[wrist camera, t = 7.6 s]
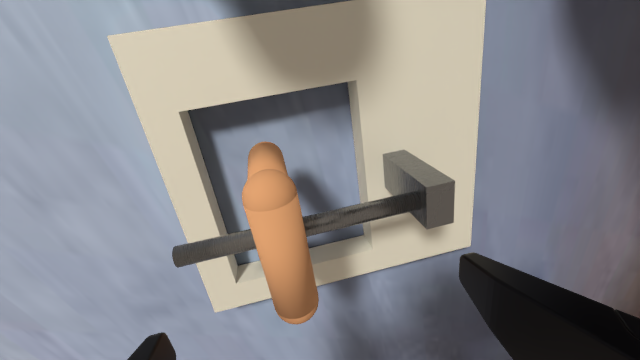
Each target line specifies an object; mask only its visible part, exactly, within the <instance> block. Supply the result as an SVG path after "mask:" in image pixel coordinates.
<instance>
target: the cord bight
mask: <svg viewBox="0 0 640 360" xmlns="http://www.w3.org/2000/svg"><path fill="white" fill-rule="evenodd" d="M242 201H243V206H244V209H245V212H246V215H247V219H248V222H249V225H250V228H251V232H252V235H253V238H254V242H255V245H256V248H257V251H258V255H259V258H260V261H261V264H262V268H263V271H264V274H265V277H266V281H267V284H268V287H269V290H270V294H271V297H272V300H273V304H274V307H275V310H276V312H277V314H278V315H279V316H280V318H281V319H282V320H284V321H285V322H288V323H290V324H301V323H304V322H306V321H308V320H309V319H310V318H311V317H312V316H313V315H314V313H315V312H316V310H317V307H318V301H319V299H318V292H317V287H316V282H315V277H314V272H313V267H312V262H311V257H310V253H309V248H308V243H307V238H306V233H305V228H304V223H303V218H302V213H301V208H300V204H299V199H298V194H297V189H296V186H295V184H294V182H293V181H292V179H291V178H290V177H289V176H288V174H287V170H286V166H285V162H284V158H283V155H282V152H281V150H280V149H279V147H278V146H276V145H275V144H273V143H270V142H260V143H258V144H256V145H255V146H253V147H252V149H251V150H250V152H249V156H248V180H247V182H246V184H245V185H244V188H243V192H242Z"/></svg>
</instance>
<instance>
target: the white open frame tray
mask: <svg viewBox="0 0 640 360" xmlns="http://www.w3.org/2000/svg"><path fill="white" fill-rule="evenodd" d="M485 7H486V0H351V1H345V2H338V3H331V4H324V5H317V6H310V7H303V8H296V9H289V10H283V11H276V12H269V13H262V14H255V15H248V16H241V17H234V18H227V19H220V20H214V21H207V22H200V23H193V24H186V25H179V26H172V27H165V28H158V29H152V30H145V31H138V32H131V33H124V34H117V35H110V36H107V37H108V39H109V42H110V44H111V47H112V50H113V52H114V55H115V57H116V60H117V62H118V65H119V68H120V70H121V73H122V75H123V78H124V80H125V83H126V85H127V88H128V91H129V93H130V96H131V98H132V101H133V103H134V106H135V108H136V111H137V114H138V116H139V119H140V121H141V124H142V126H143V129H144V132H145V134H146V137H147V139H148V142H149V144H150V147H151V149H152V152H153V155H154V157H155V160H156V162H157V165H158V167H159V170H160V172H161V175H162V178H163V180H164V183H165V185H166V188H167V190H168V193H169V195H170V198H171V201H172V203H173V206H174V208H175V211H176V213H177V216H178V219H179V221H180V224H181V226H182V229H183V231H184V234H185V236H186V239H187V242H188V243H192V242H196V241H201V240H205V239H209V238H214V237H218V236H222V235H227V231H226V228H225V225H224V222H223V219H222V216H221V212H220V209H219V206H218V203H217V200H216V197H215V194H214V191H213V188H212V185H211V181H210V178H209V175H208V172H207V169H206V166H205V163H204V160H203V157H202V154H201V150H200V147H199V144H198V141H197V138H196V135H195V132H194V129H193V126H192V123H191V119H190V116H189V113H188V110H192V109H198V108H203V107H209V106H215V105H220V104H226V103H231V102H237V101H243V100H248V99H254V98H259V97H265V96H271V95H276V94H282V93H287V92H293V91H299V90H304V89H310V88H315V87H321V86H327V85H332V84H338V83H343V82H348V91H349V100H350V110H351V119H352V128H353V138H354V147H355V156H356V166H357V175H358V184H359V194H360V203H365V202H370V201H374V200H378V199H383V198H387V197H391V196H393V195H392V194H391V193H390V192H389V191H388V190H387V189H386V188H385V182H384V168H383V154H385V153H390V152H395V151H399V150H406V151H408V152H409V153H411V154H413V155H414V156H416V157H417V158H419V159H421V160H422V161H424V162H425V163H427V164H429V165H430V166H432V167H434V168H435V169H437V170H438V171H440V172H442V173H443V174H445V175H447V176H448V177H450V178H451V179H453V180H455V199H454V223H451V224H447V225H443V226H439V227H435V228H431V229H426V228H425V227H424V226H423V225H422V224H421V223H420V222H419V221H418V220H417V219H416V218H415V217H414V216H413V215H412V214H411V213H410V212H408V213H404V214H400V215H395V216H391V217H387V218H383V219H379V220H374V221H370V222H366V223H363V231H364V235H362V236H358V237H354V238H350V239H346V240H342V241H338V242H333V243H329V244H325V245H321V246H317V247H313V248H309V253H310V257H311V262H312V267H313V272H314V277H315V282H316V286H319V285H323V284H327V283H331V282H334V281H338V280H342V279H346V278H350V277H354V276H357V275H361V274H365V273H369V272H373V271H377V270H381V269H384V268H388V267H392V266H396V265H400V264H404V263H407V262H411V261H415V260H419V259H423V258H427V257H430V256H434V255H438V254H442V253H446V252H450V251H453V250H457V249H461V248H465V247H469V246H471V230H472V214H473V198H474V182H475V166H476V151H477V135H478V119H479V103H480V87H481V71H482V55H483V39H484V23H485ZM196 265H197V267H198V270H199V272H200V275H201V277H202V280H203V282H204V285H205V288H206V290H207V293H208V295H209V298H210V300H211V303H212V306H213V308H214V311H215V313H216V312H219V311H223V310H227V309H231V308H235V307H239V306H242V305H246V304H250V303H254V302H258V301H262V300H265V299H269V298H272V297H271V294H270V290H269V287H268V284H267V281H266V277H265V274H264V271H263V268H262V264H261V261H256V262H252V263H247V264H243V265H239V266H238V265H237V262H236V259H235V256H234V254H232V255H228V256H224V257H220V258H216V259H211V260H207V261H203V262H199V263H196Z"/></svg>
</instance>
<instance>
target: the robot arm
mask: <svg viewBox="0 0 640 360" xmlns="http://www.w3.org/2000/svg"><path fill="white" fill-rule="evenodd" d="M459 278H460V281H461V283H462V285H463V287H464V288H465V290H466V292H467V293H468V295H469V296H470V298H471V300H472V301H473V303H474V304H475V306H476V308H477V309H478V311H479V312H480V314H481V316H482V317H483V319H484V321H485V322H486V324H487V325H488V327H489V328H490V329H491V331H492V332H493V334H494V335H495V336H496V338H497V339H498V340H499V342H500V343H501V344H502V345H503V347H504V348H505V349H506V351H507V352H508V353H509V355H510V356H511V357H512V359H513V360H640V319H639V318H637V317H634V316H632V315H629V314H627V313H624V312H622V311H619V310H614V309H613V308H612V307H609V306H607V305H604V304H602V303H599V302H597V301H594V300H592V299H589V298H587V297H584V296H582V295H579V294H577V293H574V292H572V291H569V290H567V289H564V288H562V287H559V286H557V285H554V284H552V283H549V282H547V281H544V280H542V279H539V278H537V277H534V276H532V275H529V274H527V273H524V272H522V271H519V270H517V269H514V268H512V267H509V266H507V265H504V264H502V263H499V262H497V261H494V260H492V259H489V258H487V257H484V256H482V255H479V254H477V253H468V254H464V255H462V256H461V257H460V264H459ZM127 360H176V353H175V350H174V348H173V346H172V344H171V342H170V340H169V338H168V336H167V335H166V334H165V333H158V334H154V335H151V336H149V337H147V338H146V339H145V340H144V341H143V343H142V344H141V345H140V346H139V347H138V348H137V349H136V350H135V352H134V353H133V354H132V355H131V356H130V357H129V358H128V359H127Z"/></svg>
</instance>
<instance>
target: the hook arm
mask: <svg viewBox="0 0 640 360" xmlns="http://www.w3.org/2000/svg"><path fill="white" fill-rule="evenodd" d="M383 168H384V182H385V188H386V189H387V190H388V191H389V192H390V193H391V194H392V195H393V196H391V197H387V198H383V199H378V200H374V201H370V202H365V203H361V204H357V205H352V206H348V207H344V208H339V209H335V210H331V211H326V212H322V213H318V214H313V215H309V216H305V217H302V218H303V223H304V228H305V233H306V237H308V236H312V235H316V234H320V233H324V232H328V231H333V230H337V229H341V228H345V227H349V226H354V225H358V224H362V223H366V222H370V221H374V220H379V219H383V218H387V217H391V216H395V215H400V214H404V213H408V212H410V213H411V214H412V215H413V216H414V217H415V218H416V219H417V220H418V221H419V222H420V223H421V224H422V225H423V226H424V227H425V228H426V229H431V228H435V227H439V226H443V225H447V224H451V223H454V199H455V180H453V179H451V178H450V177H448V176H447V175H445V174H443V173H442V172H440V171H438V170H437V169H435V168H434V167H432V166H430V165H429V164H427V163H425V162H424V161H422V160H421V159H419V158H417V157H416V156H414V155H413V154H411V153H409V152H408V151H406V150H399V151H395V152H390V153H385V154H383ZM253 249H257V248H256V245H255V242H254V238H253V235H252V232H251V229H248V230H244V231H240V232H235V233H231V234H227V235H222V236H218V237H214V238H209V239H205V240H201V241H196V242H192V243H188V244H183V245H179V246H175V247H174V248H173V252H172V256H173V261H174V264H175V266H176V267H182V266H186V265H191V264H195V263H199V262H203V261H207V260H211V259H216V258H220V257H224V256H228V255H232V254H237V253H241V252H245V251H249V250H253Z"/></svg>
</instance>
